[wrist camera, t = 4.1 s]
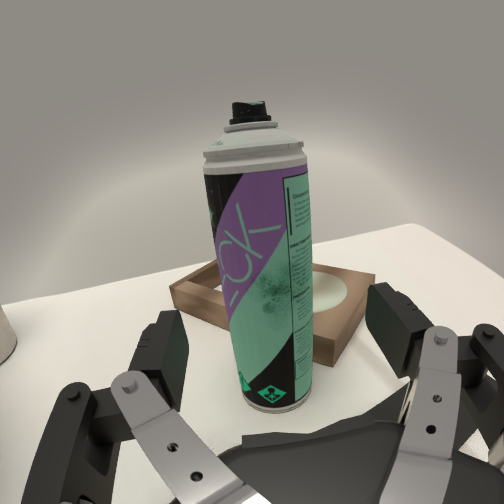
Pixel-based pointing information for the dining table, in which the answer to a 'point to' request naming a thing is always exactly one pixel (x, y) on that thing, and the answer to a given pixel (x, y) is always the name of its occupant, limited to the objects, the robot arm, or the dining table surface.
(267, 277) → the spray can
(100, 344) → the dining table surface
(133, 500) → the dining table surface
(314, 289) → the walnut tray
